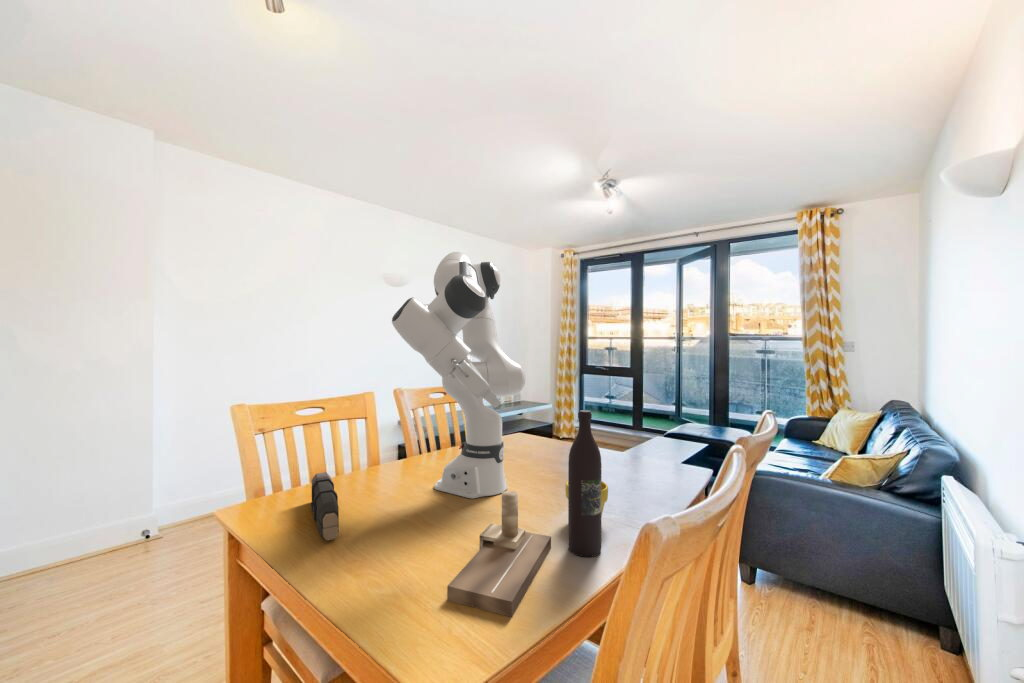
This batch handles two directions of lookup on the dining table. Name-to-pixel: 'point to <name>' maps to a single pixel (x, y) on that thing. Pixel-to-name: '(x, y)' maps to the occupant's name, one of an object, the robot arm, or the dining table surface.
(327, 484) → the dark grey segmented bar
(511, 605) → the board
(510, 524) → the beige peg stand
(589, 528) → the wine bottle
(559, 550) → the dining table surface
